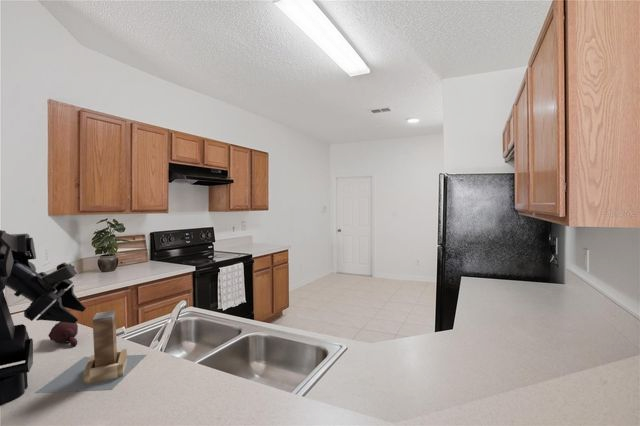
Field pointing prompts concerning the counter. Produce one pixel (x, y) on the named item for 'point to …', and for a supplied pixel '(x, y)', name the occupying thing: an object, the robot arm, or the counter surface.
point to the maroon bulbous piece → (64, 333)
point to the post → (104, 338)
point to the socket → (105, 369)
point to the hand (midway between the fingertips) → (80, 315)
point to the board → (75, 379)
